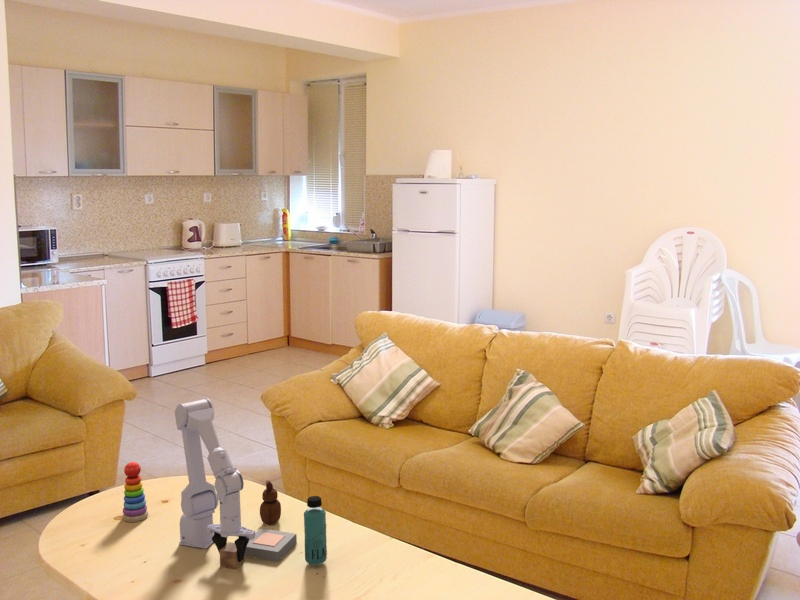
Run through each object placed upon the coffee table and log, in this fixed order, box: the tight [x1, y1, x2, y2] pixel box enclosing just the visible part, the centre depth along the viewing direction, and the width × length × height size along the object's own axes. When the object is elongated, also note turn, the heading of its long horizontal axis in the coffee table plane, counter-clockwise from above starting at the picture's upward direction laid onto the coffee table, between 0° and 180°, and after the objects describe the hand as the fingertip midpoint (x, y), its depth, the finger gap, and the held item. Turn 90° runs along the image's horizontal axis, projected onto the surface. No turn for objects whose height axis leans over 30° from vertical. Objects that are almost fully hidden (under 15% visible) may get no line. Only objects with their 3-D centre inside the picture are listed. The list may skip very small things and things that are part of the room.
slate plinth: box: [244, 528, 298, 563], centre depth 227 cm, size 12×12×3 cm
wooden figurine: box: [259, 480, 282, 526], centre depth 244 cm, size 7×6×15 cm
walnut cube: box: [218, 541, 246, 570], centre depth 219 cm, size 5×5×5 cm
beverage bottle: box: [303, 495, 328, 566], centre depth 217 cm, size 6×7×20 cm
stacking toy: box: [122, 461, 149, 523], centre depth 248 cm, size 8×8×19 cm
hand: (232, 558), depth 219 cm, fingers closed on walnut cube, 5 cm apart
